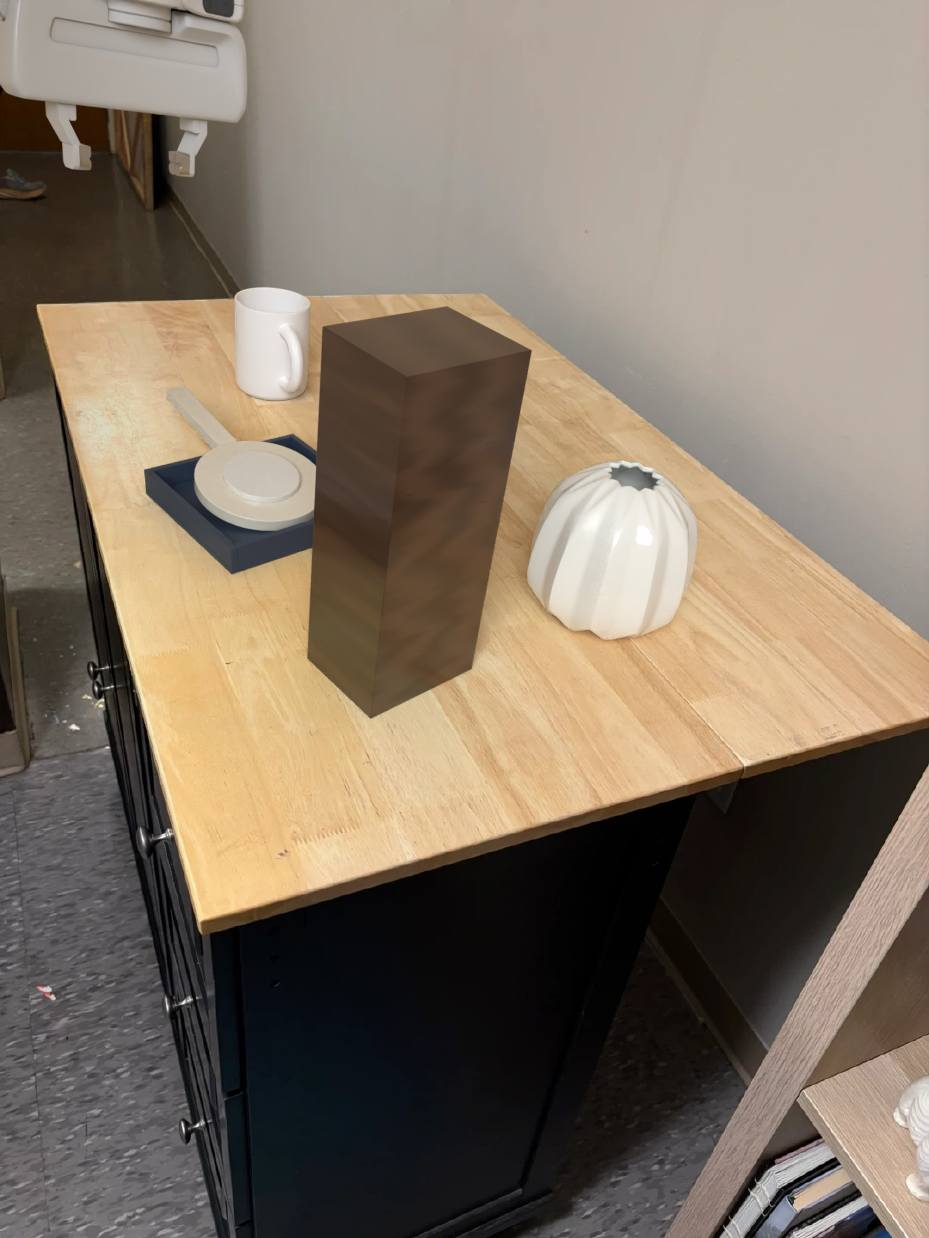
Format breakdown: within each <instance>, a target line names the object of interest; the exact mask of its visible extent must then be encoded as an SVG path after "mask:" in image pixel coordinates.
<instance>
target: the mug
mask: <svg viewBox="0 0 929 1238" xmlns="http://www.w3.org/2000/svg"><path fill="white" fill-rule="evenodd" d="M233 298H234V369H235V370H234V371H235V372H234V373H235V382H236V385H237V387H238V388H239V390H240V391H242V392H243V393H244V394H246V395H247V396H249V397H252V398H255V399H258V400H264V401H272V402H273V401H274V402H279V401H289V400H292V399H295V398H298V397H300V396H301V395H302V394H303V393H304V392H305V391H306V390H307V386H308V379H309V359H310V358H309V353H310V331H311V330H310V329H311V304H312V303H311V301H310V300H309V299H308V297H306V296H305V295H303V294H301V293H298V292H296V291H293V290H289V289H284V288H279V287H267V286H262V287H261V286H260V287H259V286H258V287H250V288H245V289H242V290H240V291H237V292H236V294H235V295H234V297H233Z"/></svg>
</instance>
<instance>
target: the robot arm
mask: <svg viewBox="0 0 929 1238" xmlns="http://www.w3.org/2000/svg"><path fill="white" fill-rule="evenodd" d="M244 13H245V0H0V86H1V88H2V89H3V91H4V92H5V93H7V94H8V95H11V96H13V97H18V98H21V99H25V100H32V101H33V100H34V101H42V102H44V103H45V116H46V118H47V119H48V121H49V123H50V125H51V127H52V129H53V130H54V132H55V134H56V135H57V137H58V139H59V141H60V142H62V143H61V145H62V162H63V165H64V167H65V168H68V169H71V170H78V171H90V170H92V161H91V159H90V158H91V157H92V146H90V145H86V144H84V143H81V142H80V140H79V138H78V136H77V134H76V132H75V129H74V128H73V126H72V124H71V121H73V122H76V120H77V106H85V107H92V108H93V107H94V108H102V109H108V110H109V109H110V110H119V111H126V112H127V111H128V112H134V113H135V112H136V113H144V114H154V115H159V116H161V115H163V116H170V117H178V118H179V129H180V130H182V131H184V133H183V136H182V137H181V140H180V142H179V145H178V148H177V150H168V160H169V162H170V163H169V164H168V170H169V173H170V174H171V175H174V176H176V177H184V178H194V176H195V173H196V172H195V171H196V156H197V155H198V153H199V151H200V149H201V147H202V146H203V143H204V142H205V140H206V138H207V136H208V121H212V122H219V123H230V124H238V123H239V122H240V120H241V119H242V117H243V116H244V114H245V113H246V110H247V104H248V60H247V59H248V58H247V57H248V55H247V49H246V43H245V39H244V36H243V34H242V32H241V30H239V28H238V27H237V26H236V25H235V24H233V23H240V22H241V21H243V18H244Z"/></svg>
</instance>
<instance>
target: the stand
mask: <svg viewBox="0 0 929 1238" xmlns="http://www.w3.org/2000/svg"><path fill="white" fill-rule="evenodd" d="M321 328H322V329H321V350H320V351H321V352H320V370H319V371H320V373H319V392H318V393H319V395H318V416H317V434H316V435H317V436H316V437H317V438H316V451H317V457H316V479H315V500H314V522H313V544H312V548H311V567H310V589H309V608H308V609H309V612H308V631H307V632H308V636H307V655H306V658H307V660H308V661H309V662H310V663H311V664H312V665H313V666H315V667H316V668H317V669H318V671H320V672H321V673H322V674H323V675H324V676H325V677H326V678H327V679H328V680H329V681H330V682H331V683H333V685H335V686H336V687H337V689H339V690H340V691H341V692H342V693H343V694H344V695H345V696H346V697H347V698H348V699H349V700H350V701H351V702H353V703H354V705H355V706H356V707H358V708H359V710H361V711H362V713H364V714H365V715H366V716H367V717H368V718H369V719H374V718H376V717H377V716H379V715H381V714H384V713H385V712H388V711H389V710H392V709H394V708H395V707H397V706H400V705H402V704H403V703H406V702H407V701H410V700H412V699H414V698H416V697H418V696H420V695H422V694H424V693H426V692H428V691H430V690H432V689H434V688H436V687H438V686H440V685H442V684H444V683H446V682H449V681H450V680H452V679H454V678H457V677H459V676H460V675H463V674H464V673H466V672H469V671H471V670H472V668H473V663H474V659H475V653H476V648H477V642H478V638H479V631H480V627H481V621H482V615H483V610H484V605H485V600H486V594H487V589H488V584H489V579H490V574H491V568H492V563H493V558H494V552H495V548H496V542H497V537H498V531H499V527H500V522H501V516H502V510H503V505H504V500H505V494H506V489H507V484H508V479H509V475H510V469H511V463H512V459H513V454H514V453H513V452H514V447H515V442H516V438H517V431H518V426H519V420H520V417H521V411H522V405H523V401H524V394H525V389H526V384H527V378H528V374H529V368H530V362H531V358H532V352H533V350H532V349H531V348H529V347H527V346H526V345H523V344H521V343H519V342H517V341H516V340H513V339H512V338H510V337H507V336H505V335H504V334H502V333H500V332H498V331H496V330H494V329H493V328H490V327H488V326H486V325H485V324H483V323H480V322H479V321H477V320H474V319H472V317H469V316H467V315H465V314H463V313H461V312H459V311H457V310H455V309H454V308H451V307H450V306H448V305H446V306H440V307H433V308H428V309H427V308H426V309H421V310H415V311H409V312H402V313H396V314H390V315H384V316H378V317H372V318H365V319H357V320H353V321H346V322H340V323H335V324H328V325H322V327H321Z"/></svg>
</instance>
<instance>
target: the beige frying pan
mask: <svg viewBox="0 0 929 1238" xmlns="http://www.w3.org/2000/svg"><path fill="white" fill-rule="evenodd" d="M165 389H166V391H165V393H166V394H165V399H166V400H167V401H168V402H169V403H170V405H172V407H173V408H174V409H175V410H176V411H177V413H179V415H180V416H182V418H183V419H184V420H185V421H186V422H187V423H188V424H189V425H190V426H191V428H192V429H193V430H194V431H195V432H196V433H197V434H198V435H199V436H200V437H201V439H202V440H203V441H204V442H205V443H206V444H207V445H208V446H209V447H210V449H209V450H207V451H206V452H205V453H204V454H202V455H203V456H202V455H201V456H202V457H201V458H200V460H199V461H198V463H197V465H196V467H195V472H194V489H195V493H196V495H197V497H198V499H199V500H200V502H201V503H202V504H203V506H204V507H205V508H206V509H207V510H209V511H210V512H211V513H212V514H214V515H215V516H217V517H218V518H220V519H222V520H224V521H226V522H228V523H231V524H233V525H236V526H239V527H243V528H247V529H252V530H261V531H277V530H280V529H283V528H287V527H290V526H293V525H296V524H299V523H303V522H306V521H309V520H311V519H313V518H314V500H315V479H316V466H315V465H314V464H313V463H312V462H311V461H310V460H309V459H307V458H306V457H305V456H303V455H301V454H300V453H298V452H296V451H294V450H292V449H289V448H286V447H284V446H281V445H277V444H273V443H268V442H261V441H262V440H239V441H237V439H236V438H235V437H234V436H233V435H232V434H231V433H230V432H229V431H228V430H227V428H226V427H225V426H224V425H223V424H221V423H220V422H219V421H220V420H218V419H217V418H216V417H215V416H214V415H213V414H212V412H210V410H209V409H207V407H205V406H204V404H203V403H202V402H201V401H200V400H199V398H197V397H196V396H195V395H194V393H192V392H191V390H189V388H187V386H186V385H184V384H183V385H178V386H172V387H168V388H165Z"/></svg>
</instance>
